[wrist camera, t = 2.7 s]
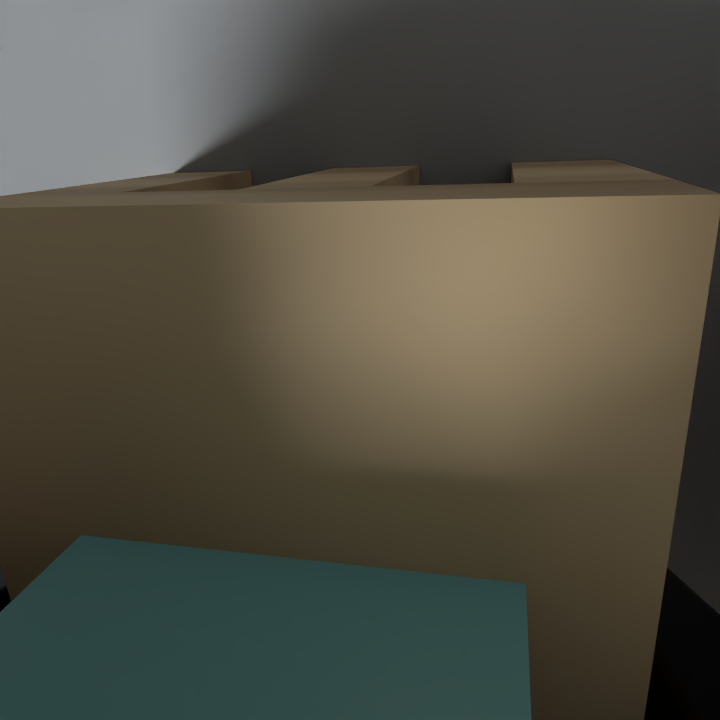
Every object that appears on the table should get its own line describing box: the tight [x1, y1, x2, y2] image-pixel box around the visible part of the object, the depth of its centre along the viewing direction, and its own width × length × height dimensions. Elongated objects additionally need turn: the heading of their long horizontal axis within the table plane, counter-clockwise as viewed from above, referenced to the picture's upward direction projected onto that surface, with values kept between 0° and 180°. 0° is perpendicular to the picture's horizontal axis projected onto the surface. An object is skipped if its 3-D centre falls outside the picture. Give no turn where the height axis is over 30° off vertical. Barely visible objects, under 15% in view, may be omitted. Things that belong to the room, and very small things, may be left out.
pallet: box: [0, 159, 720, 720], centre depth 8 cm, size 10×6×4 cm, turn 2°
